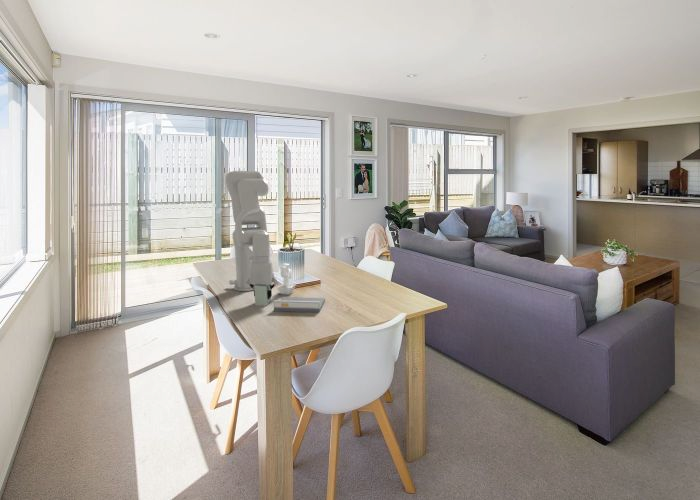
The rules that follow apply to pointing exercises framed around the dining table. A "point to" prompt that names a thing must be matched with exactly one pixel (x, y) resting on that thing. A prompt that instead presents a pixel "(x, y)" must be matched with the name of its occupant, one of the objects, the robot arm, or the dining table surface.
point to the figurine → (286, 280)
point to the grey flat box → (299, 304)
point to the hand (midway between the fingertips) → (262, 297)
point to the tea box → (261, 295)
